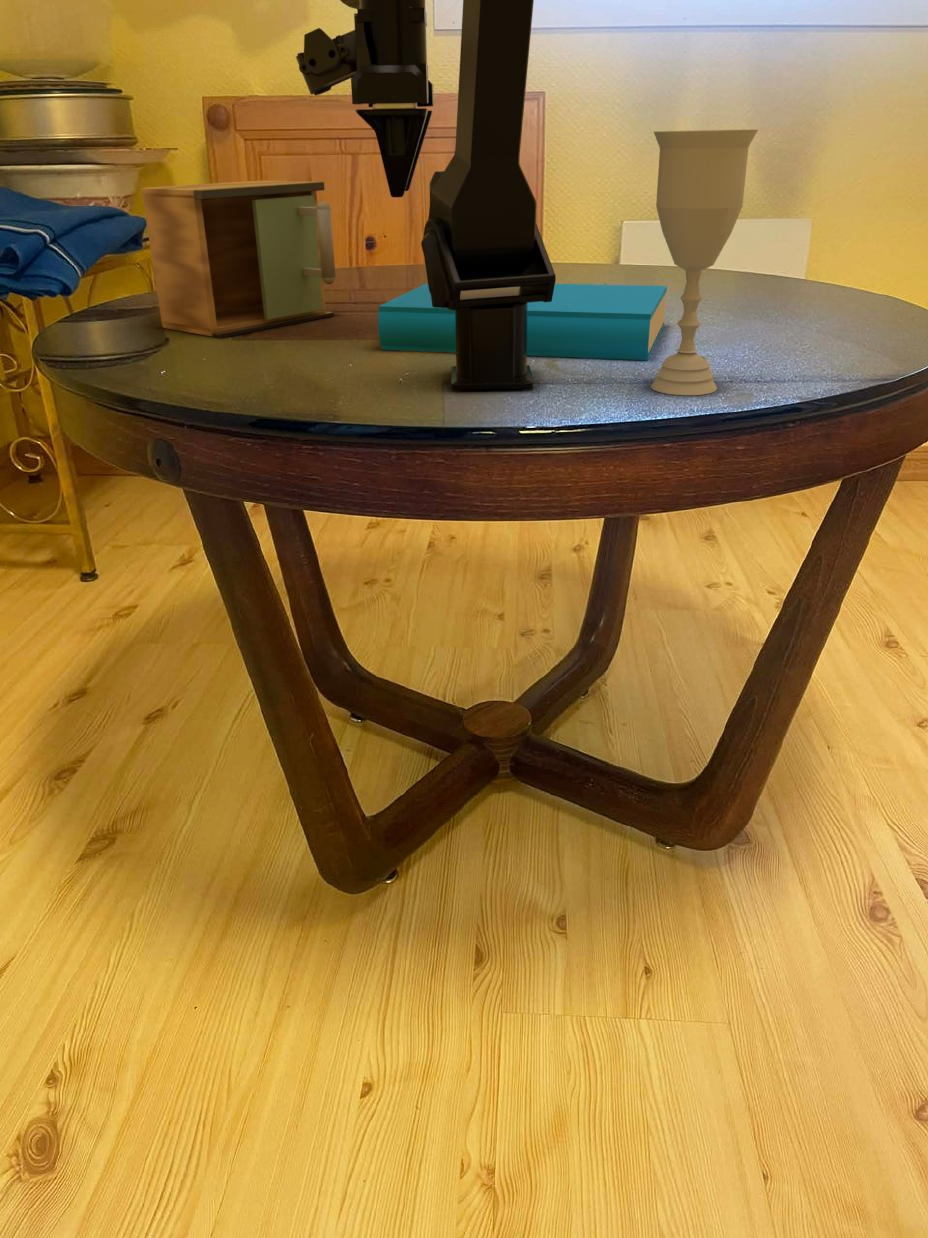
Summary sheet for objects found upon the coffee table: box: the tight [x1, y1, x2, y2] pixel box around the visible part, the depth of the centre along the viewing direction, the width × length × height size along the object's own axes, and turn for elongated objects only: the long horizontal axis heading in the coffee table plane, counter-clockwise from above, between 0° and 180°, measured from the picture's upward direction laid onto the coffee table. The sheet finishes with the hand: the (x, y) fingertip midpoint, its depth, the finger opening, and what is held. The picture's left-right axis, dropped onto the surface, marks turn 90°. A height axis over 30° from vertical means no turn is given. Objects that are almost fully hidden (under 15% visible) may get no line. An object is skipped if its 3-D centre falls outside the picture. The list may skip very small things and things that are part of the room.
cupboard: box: [141, 179, 335, 339], centre depth 103 cm, size 10×16×14 cm, turn 140°
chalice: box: [650, 129, 759, 396], centre depth 72 cm, size 7×7×18 cm
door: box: [252, 195, 336, 320], centre depth 101 cm, size 5×8×12 cm, turn 140°
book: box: [377, 282, 668, 361], centre depth 94 cm, size 17×4×25 cm
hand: (400, 193), depth 91 cm, fingers open, 9 cm apart
